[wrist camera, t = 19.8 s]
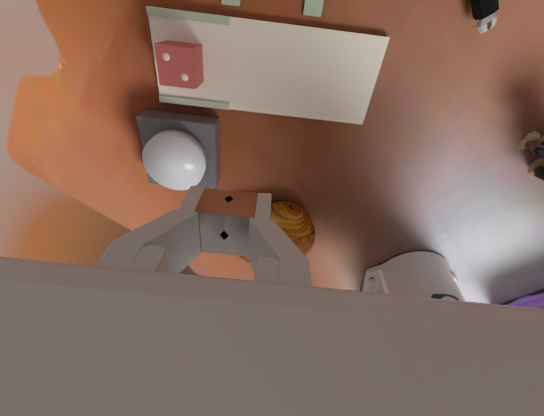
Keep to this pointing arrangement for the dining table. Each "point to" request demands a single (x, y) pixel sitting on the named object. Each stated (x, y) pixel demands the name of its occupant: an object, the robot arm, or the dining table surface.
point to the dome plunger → (174, 159)
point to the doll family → (534, 152)
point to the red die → (179, 64)
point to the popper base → (194, 125)
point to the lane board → (273, 64)
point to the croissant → (293, 224)
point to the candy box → (529, 301)
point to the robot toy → (484, 13)
